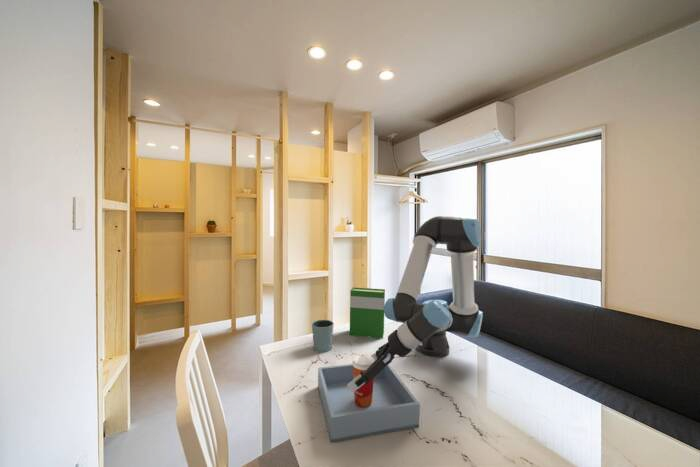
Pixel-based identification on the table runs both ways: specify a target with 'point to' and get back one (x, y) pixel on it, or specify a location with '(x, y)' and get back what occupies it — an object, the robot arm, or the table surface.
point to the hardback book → (367, 312)
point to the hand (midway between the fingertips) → (357, 377)
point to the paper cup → (365, 391)
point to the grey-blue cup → (322, 335)
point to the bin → (379, 418)
